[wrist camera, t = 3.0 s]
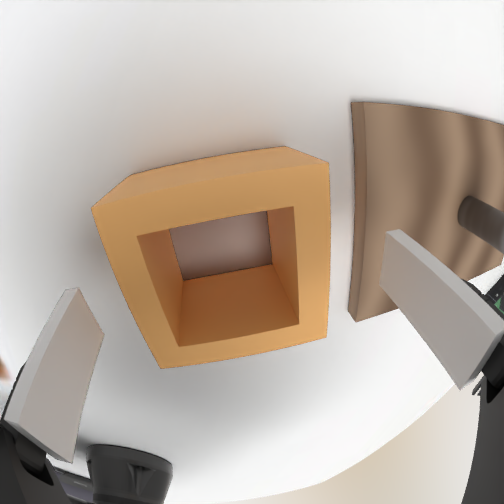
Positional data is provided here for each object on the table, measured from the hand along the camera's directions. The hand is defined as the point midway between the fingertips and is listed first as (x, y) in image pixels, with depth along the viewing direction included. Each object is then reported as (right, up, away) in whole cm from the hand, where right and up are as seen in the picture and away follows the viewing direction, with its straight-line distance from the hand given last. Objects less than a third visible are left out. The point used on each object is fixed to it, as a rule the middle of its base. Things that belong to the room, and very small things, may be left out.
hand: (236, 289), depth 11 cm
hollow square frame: (-1, +3, +6) cm, 7 cm away
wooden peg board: (+18, +6, +8) cm, 21 cm away
